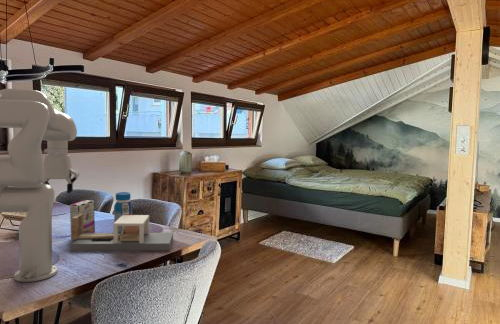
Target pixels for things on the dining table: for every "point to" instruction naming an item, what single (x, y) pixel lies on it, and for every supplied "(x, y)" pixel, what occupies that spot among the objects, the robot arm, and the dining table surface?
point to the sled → (78, 233)
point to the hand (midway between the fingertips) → (58, 192)
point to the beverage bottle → (122, 207)
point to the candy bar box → (84, 215)
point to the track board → (114, 244)
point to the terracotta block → (131, 229)
